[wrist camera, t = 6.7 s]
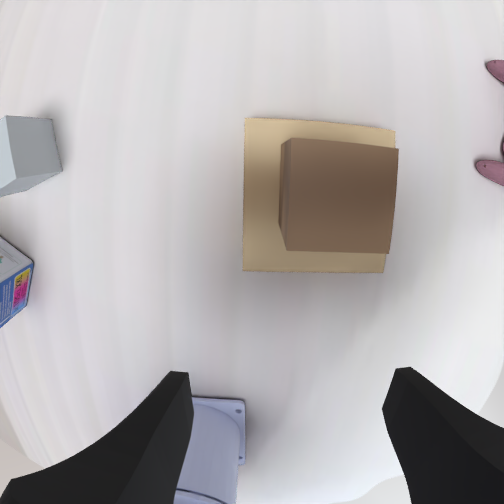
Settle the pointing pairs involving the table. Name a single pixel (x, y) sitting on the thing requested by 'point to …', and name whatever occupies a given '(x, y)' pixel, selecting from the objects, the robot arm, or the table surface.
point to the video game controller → (498, 170)
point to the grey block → (26, 153)
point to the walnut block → (337, 196)
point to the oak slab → (267, 196)
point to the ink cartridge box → (13, 281)
